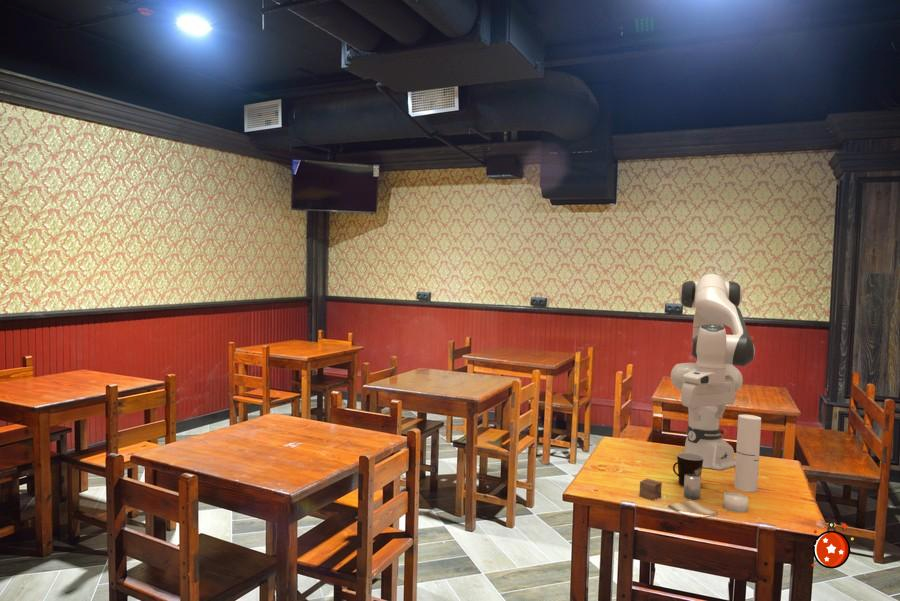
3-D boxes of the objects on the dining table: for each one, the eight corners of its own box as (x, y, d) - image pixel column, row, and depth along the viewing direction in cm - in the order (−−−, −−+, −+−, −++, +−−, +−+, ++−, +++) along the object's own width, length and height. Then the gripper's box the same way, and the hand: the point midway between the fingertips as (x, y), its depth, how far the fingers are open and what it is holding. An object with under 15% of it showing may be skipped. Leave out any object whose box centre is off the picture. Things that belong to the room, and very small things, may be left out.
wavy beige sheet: (691, 503, 194) (692, 500, 194) (717, 514, 185) (717, 512, 185) (668, 507, 190) (668, 504, 190) (692, 519, 181) (692, 516, 181)
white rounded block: (733, 503, 195) (734, 491, 195) (752, 511, 189) (753, 498, 189) (718, 506, 192) (718, 493, 192) (736, 514, 186) (737, 501, 186)
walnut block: (646, 493, 202) (647, 478, 202) (661, 497, 198) (661, 482, 198) (639, 496, 198) (640, 481, 198) (653, 501, 195) (654, 485, 195)
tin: (691, 493, 202) (692, 473, 202) (703, 499, 198) (704, 477, 198) (680, 495, 200) (681, 474, 200) (691, 500, 196) (692, 479, 196)
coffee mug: (695, 480, 216) (696, 453, 215) (706, 489, 207) (708, 460, 207) (663, 480, 215) (664, 452, 215) (673, 488, 207) (674, 459, 206)
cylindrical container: (730, 484, 213) (734, 414, 212) (751, 485, 213) (755, 414, 212) (739, 491, 206) (743, 419, 205) (761, 492, 206) (765, 419, 205)
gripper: (725, 373, 198) (722, 415, 199) (678, 375, 190) (676, 419, 190) (741, 376, 193) (739, 419, 193) (694, 379, 184) (692, 424, 184)
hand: (707, 419), depth 192 cm, fingers open, 8 cm apart
